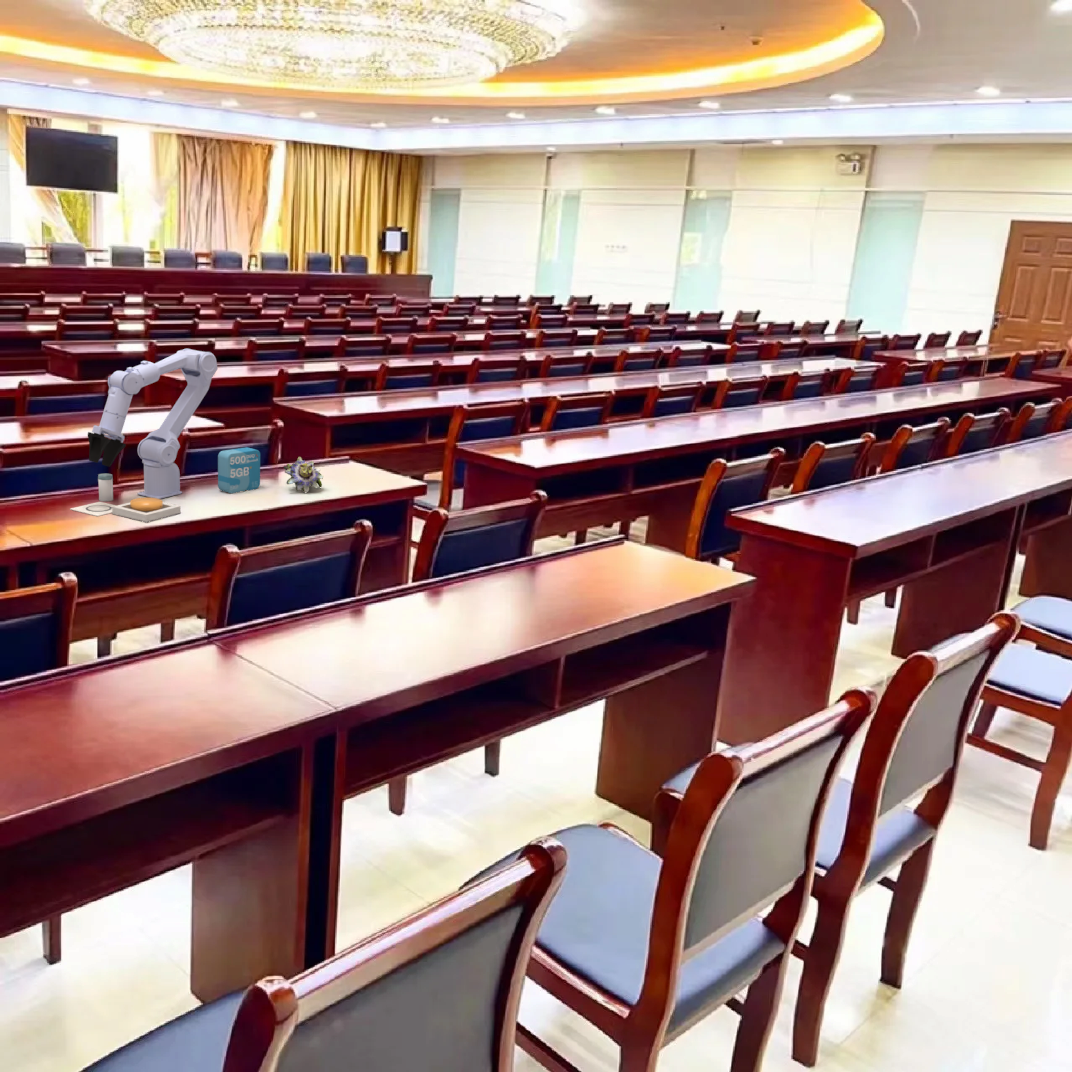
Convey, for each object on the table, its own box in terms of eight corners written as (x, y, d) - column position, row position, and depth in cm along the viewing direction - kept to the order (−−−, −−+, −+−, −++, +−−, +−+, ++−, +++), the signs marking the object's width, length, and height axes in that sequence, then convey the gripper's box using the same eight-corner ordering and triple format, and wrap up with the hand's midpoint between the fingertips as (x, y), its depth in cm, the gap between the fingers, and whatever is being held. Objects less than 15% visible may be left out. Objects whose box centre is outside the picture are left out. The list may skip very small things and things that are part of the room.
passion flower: (305, 510, 312) (288, 482, 303) (287, 495, 319) (270, 468, 310) (334, 487, 315) (319, 459, 307) (316, 473, 322) (300, 445, 314)
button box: (147, 505, 284) (146, 498, 283) (180, 513, 279) (180, 506, 278) (112, 514, 273) (112, 506, 272) (146, 522, 268) (146, 515, 268)
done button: (146, 501, 280) (146, 495, 280) (169, 507, 277) (169, 501, 277) (123, 507, 273) (123, 501, 273) (146, 512, 270) (146, 506, 270)
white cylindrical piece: (106, 497, 288) (105, 472, 286) (116, 499, 287) (115, 475, 285) (96, 499, 285) (95, 474, 283) (105, 502, 283) (104, 477, 281)
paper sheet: (100, 502, 283) (100, 501, 283) (127, 508, 279) (127, 507, 279) (69, 509, 274) (69, 508, 274) (97, 516, 270) (97, 515, 270)
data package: (227, 494, 301) (227, 454, 298) (217, 491, 304) (217, 451, 301) (260, 488, 311) (260, 449, 308) (250, 485, 313) (250, 446, 310)
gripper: (112, 416, 284) (97, 463, 283) (88, 405, 270) (72, 455, 269) (136, 422, 284) (122, 470, 283) (113, 412, 269) (98, 462, 268)
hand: (99, 463), depth 276 cm, fingers open, 7 cm apart
